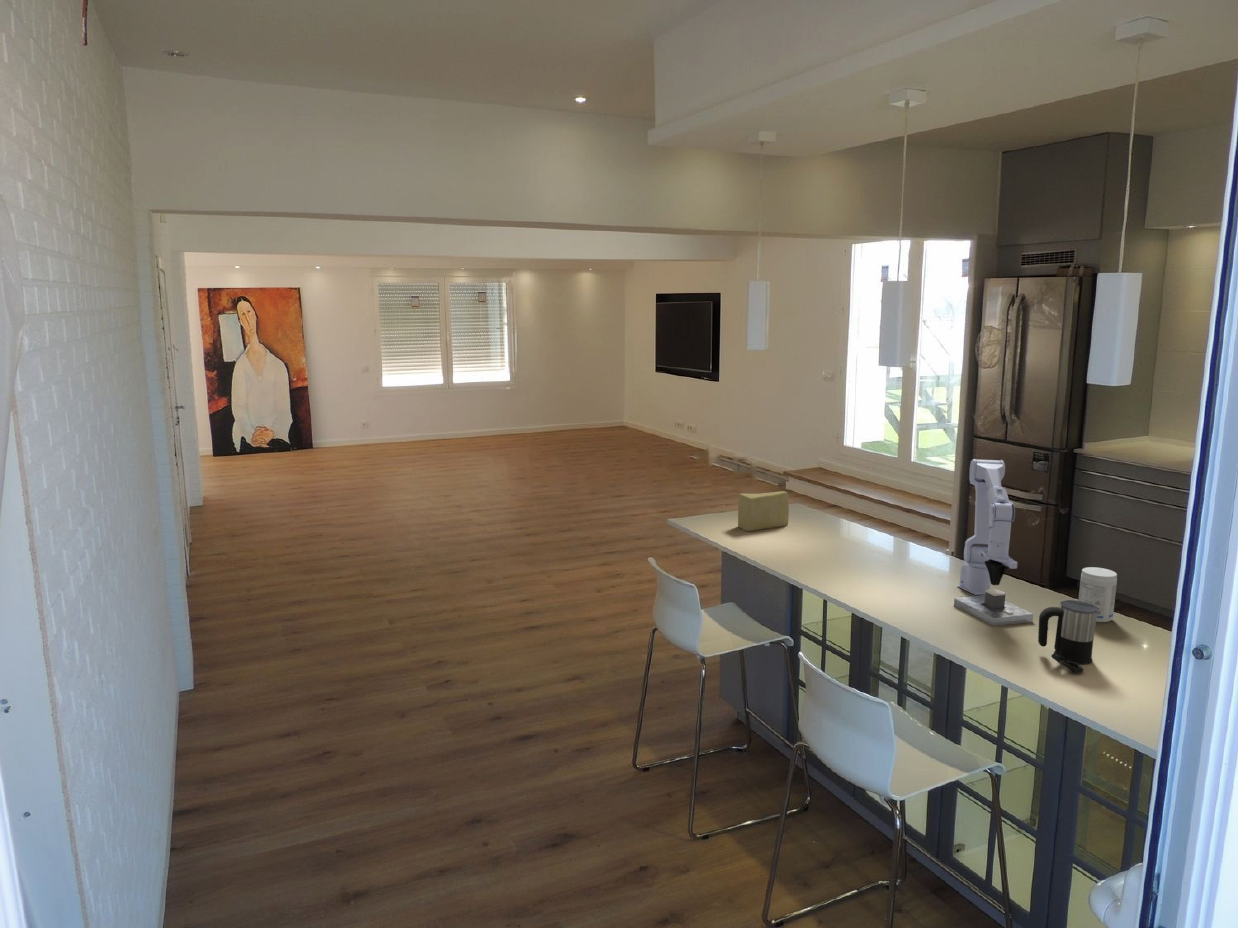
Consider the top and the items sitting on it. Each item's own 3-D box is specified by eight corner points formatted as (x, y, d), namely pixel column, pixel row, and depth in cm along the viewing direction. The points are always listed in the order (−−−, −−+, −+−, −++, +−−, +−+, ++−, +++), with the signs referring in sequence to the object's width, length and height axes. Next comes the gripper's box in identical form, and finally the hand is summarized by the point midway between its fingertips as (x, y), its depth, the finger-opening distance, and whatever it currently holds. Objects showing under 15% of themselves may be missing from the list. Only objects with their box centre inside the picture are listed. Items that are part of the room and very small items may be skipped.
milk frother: (1080, 650, 231) (1086, 599, 228) (1115, 675, 215) (1122, 620, 212) (1029, 651, 230) (1035, 599, 228) (1061, 675, 215) (1067, 621, 212)
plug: (983, 610, 260) (985, 590, 258) (994, 608, 261) (996, 588, 260) (992, 614, 256) (994, 594, 255) (1003, 613, 257) (1005, 593, 256)
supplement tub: (1095, 610, 261) (1100, 565, 258) (1120, 621, 252) (1125, 575, 249) (1069, 613, 259) (1074, 567, 256) (1093, 624, 250) (1099, 577, 247)
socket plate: (953, 605, 265) (954, 596, 264) (990, 601, 269) (991, 592, 268) (993, 626, 248) (994, 616, 247) (1032, 621, 252) (1033, 611, 251)
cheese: (781, 522, 367) (782, 488, 364) (793, 527, 358) (795, 493, 355) (736, 526, 359) (737, 492, 356) (747, 532, 350) (749, 497, 347)
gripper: (971, 536, 260) (968, 578, 262) (1005, 549, 246) (1000, 593, 249) (990, 534, 262) (987, 576, 264) (1024, 547, 248) (1020, 591, 250)
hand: (994, 584), depth 257 cm, fingers closed
